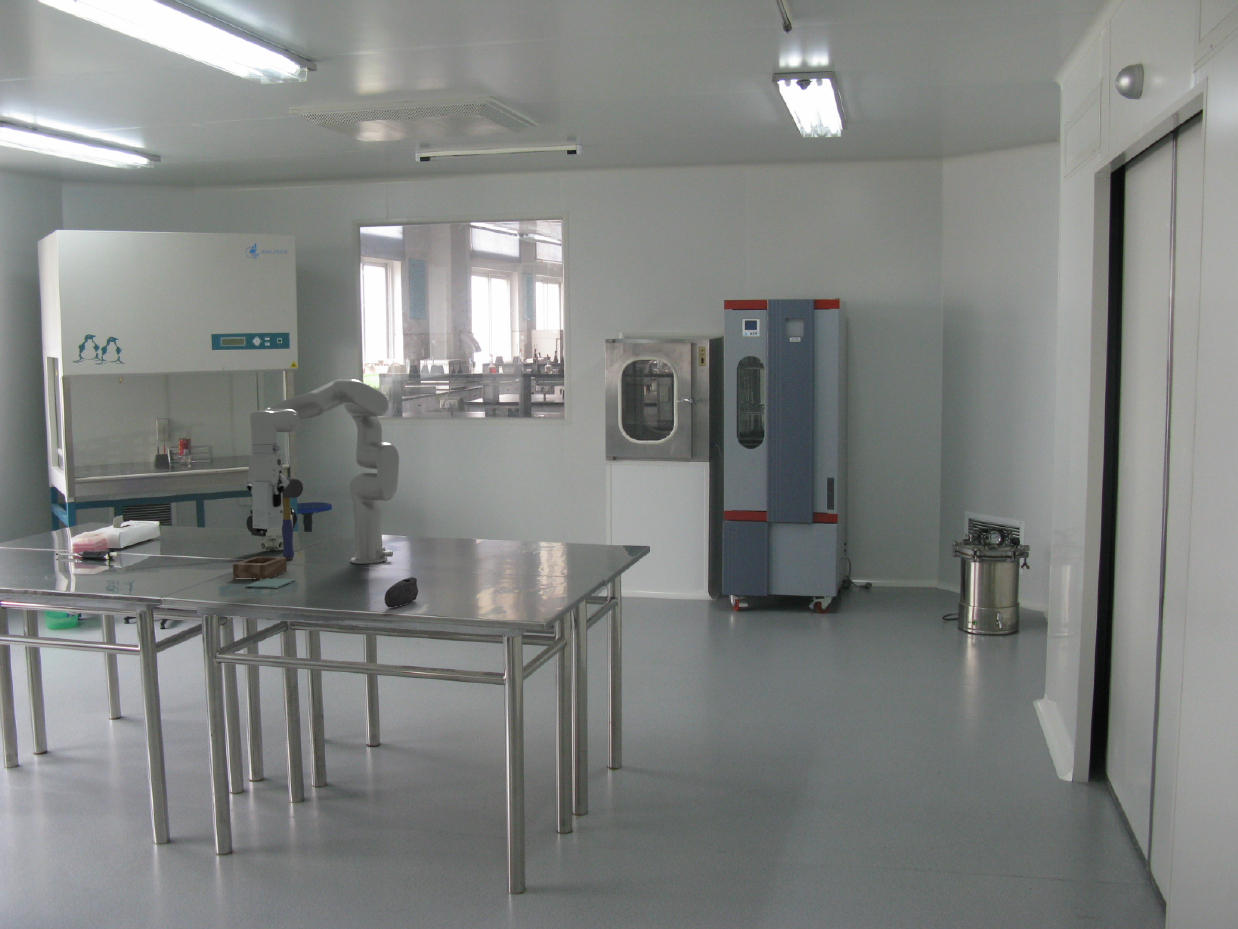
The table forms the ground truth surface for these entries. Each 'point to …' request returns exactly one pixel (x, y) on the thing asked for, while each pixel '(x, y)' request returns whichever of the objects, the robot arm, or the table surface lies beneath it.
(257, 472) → the robot arm
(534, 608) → the table surface
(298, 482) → the rubber mallet
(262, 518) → the skincare box
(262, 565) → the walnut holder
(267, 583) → the rubber mat
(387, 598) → the perforated stone tool
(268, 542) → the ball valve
